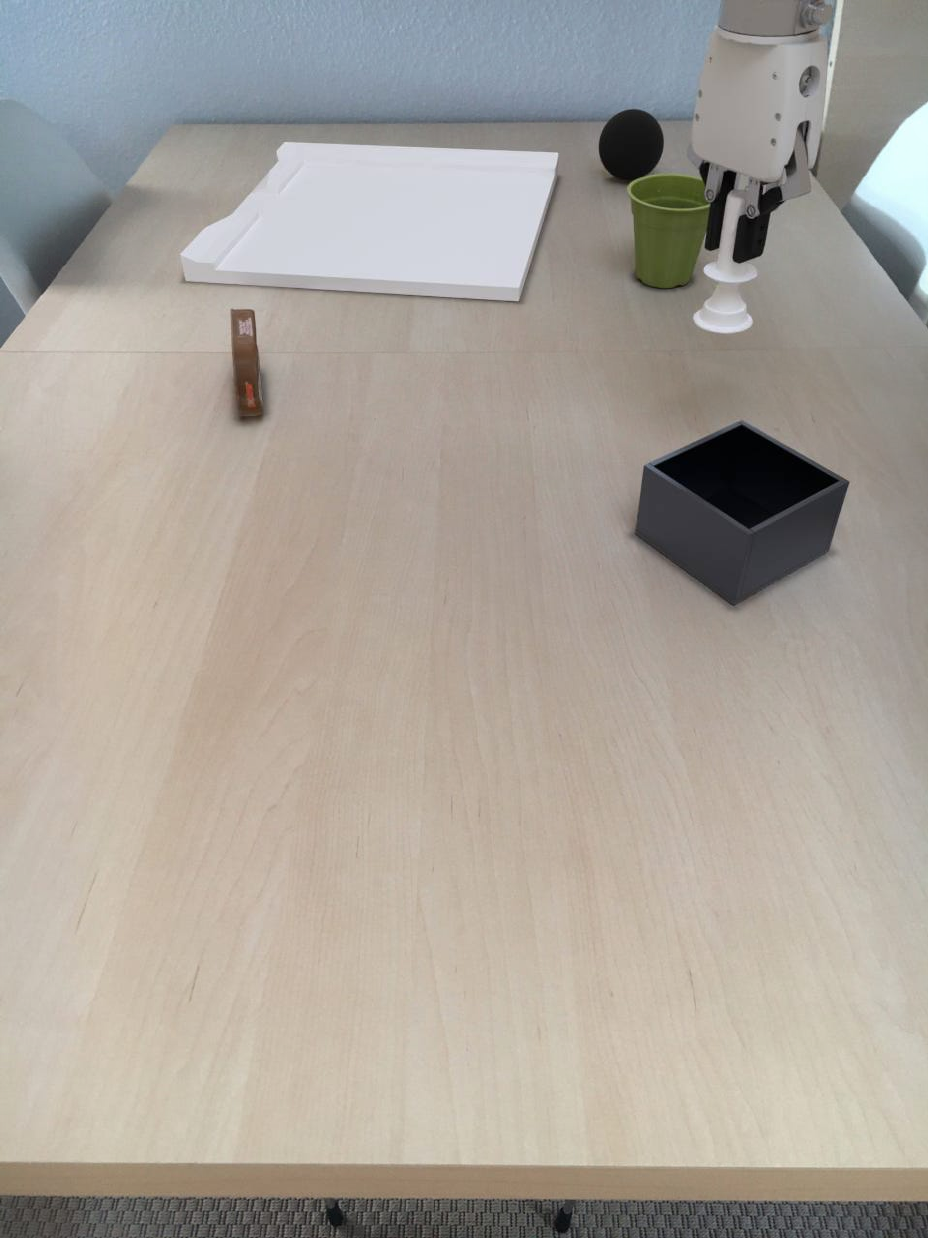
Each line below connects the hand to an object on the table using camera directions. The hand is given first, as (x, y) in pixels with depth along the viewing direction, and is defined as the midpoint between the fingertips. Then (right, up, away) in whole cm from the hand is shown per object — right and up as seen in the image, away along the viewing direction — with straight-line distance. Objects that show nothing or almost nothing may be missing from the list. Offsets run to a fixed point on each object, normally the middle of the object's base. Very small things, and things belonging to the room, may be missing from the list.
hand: (733, 250), depth 87 cm
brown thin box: (-47, -7, +24) cm, 53 cm away
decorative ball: (+3, +38, +71) cm, 80 cm away
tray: (-35, +26, +59) cm, 73 cm away
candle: (0, -5, +5) cm, 7 cm away
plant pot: (+3, +13, +44) cm, 46 cm away
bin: (+1, -25, +3) cm, 26 cm away
